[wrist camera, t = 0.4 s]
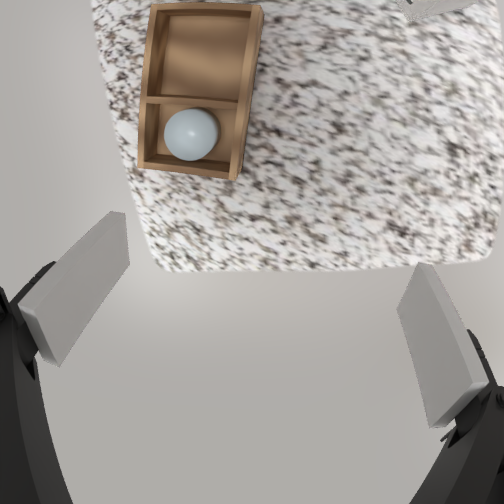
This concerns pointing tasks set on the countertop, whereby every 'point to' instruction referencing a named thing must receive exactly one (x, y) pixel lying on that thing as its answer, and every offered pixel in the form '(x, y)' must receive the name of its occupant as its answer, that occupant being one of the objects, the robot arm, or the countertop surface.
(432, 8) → the grater
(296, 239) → the countertop surface
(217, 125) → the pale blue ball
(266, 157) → the countertop surface
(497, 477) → the robot arm
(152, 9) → the caddy
